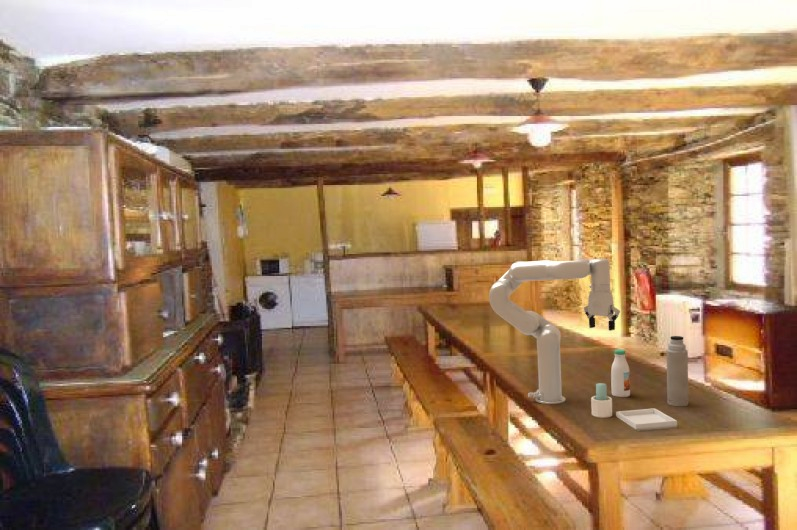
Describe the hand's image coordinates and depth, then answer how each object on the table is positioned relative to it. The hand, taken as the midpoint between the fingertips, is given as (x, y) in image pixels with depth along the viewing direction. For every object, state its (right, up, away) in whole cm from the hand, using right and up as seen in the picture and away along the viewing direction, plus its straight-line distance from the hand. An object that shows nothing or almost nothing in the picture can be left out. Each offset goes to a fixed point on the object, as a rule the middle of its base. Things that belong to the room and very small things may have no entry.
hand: (601, 328), depth 269 cm
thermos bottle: (+30, -31, -4) cm, 43 cm away
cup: (-5, -33, -15) cm, 36 cm away
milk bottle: (+12, -31, +12) cm, 35 cm away
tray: (+9, -33, -25) cm, 43 cm away
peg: (-5, -32, -15) cm, 36 cm away
